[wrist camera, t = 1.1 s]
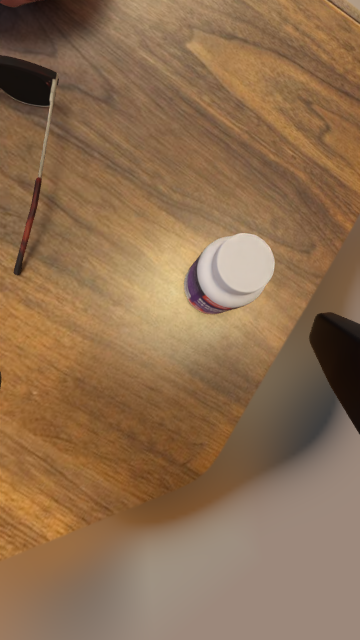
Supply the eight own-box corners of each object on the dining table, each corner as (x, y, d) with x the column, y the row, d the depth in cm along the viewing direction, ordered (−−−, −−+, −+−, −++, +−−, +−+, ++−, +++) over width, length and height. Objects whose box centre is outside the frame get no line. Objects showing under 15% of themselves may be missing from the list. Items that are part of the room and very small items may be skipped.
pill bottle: (184, 316, 30) (208, 304, 20) (181, 259, 30) (203, 221, 21) (240, 313, 31) (288, 301, 21) (236, 258, 31) (282, 221, 21)
